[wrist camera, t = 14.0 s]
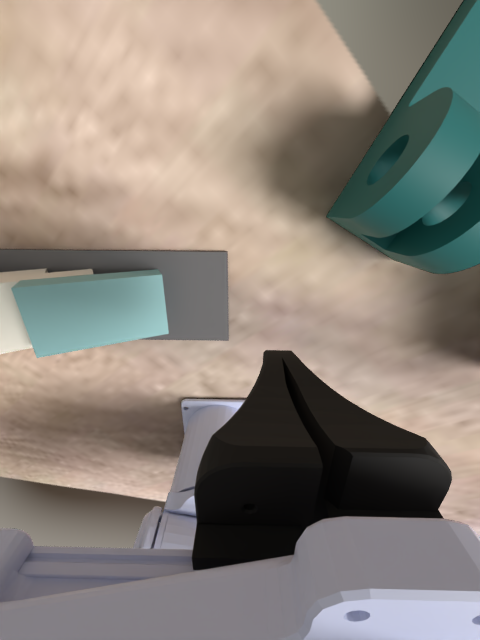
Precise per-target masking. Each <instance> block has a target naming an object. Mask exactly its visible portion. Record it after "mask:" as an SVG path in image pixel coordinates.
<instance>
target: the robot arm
mask: <svg viewBox="0 0 480 640" xmlns="http://www.w3.org/2000/svg"><path fill="white" fill-rule="evenodd" d="M186 407H188V408H186ZM181 408H182V417H183V426H184V435H185V436H184V440H183V444H182V448H181V452H180V456H179V459H178V463H177V467H176V471H175V475H174V478H173V482H172V486H171V490H170V492H169V493H168V496H167V500H166V504H165V508H164V511H163V513H162V512H161V511H162V508H161V507H158V506H155V507H154V508H153V510H152V511H150V512H149V513H147V514H146V515H145V516H144V519H143V521H142V524H141V526H140V529H139V532H138V535H137V538H136V541H135V544H134V547H133V548H102V547H58V546H33V542H32V539H31V537H30V536H29V534H27V533H26V532H25V531H23V530H20V529H15V528H0V640H480V537H479V535H478V534H477V533H476V532H475V531H474V530H473V529H472V528H471V527H470V526H469V525H467V524H464V523H462V522H458V521H453V520H447V519H444V518H443V517H442V515H441V514H440V512H439V510H438V508H439V507H440V505H441V503H442V501H443V499H444V497H445V496H446V494H447V492H448V490H449V487H450V484H451V481H452V476H451V471H450V469H449V467H448V466H447V464H446V463H445V462H444V460H443V459H442V458H441V457H440V455H439V454H438V453H437V452H436V450H435V449H434V448H433V447H432V445H431V444H430V443H429V442H428V441H427V440H426V438H424V437H421V436H419V435H417V434H414V433H412V432H409V431H407V430H404V429H402V428H400V427H397V426H395V425H393V424H391V423H389V422H387V421H384V420H382V419H380V418H378V417H376V416H374V415H373V414H371V413H369V412H367V411H365V410H363V409H362V408H360V407H358V406H357V405H355V404H353V403H352V402H350V401H349V400H347V399H345V398H344V397H343V396H341V395H340V394H338V393H337V392H335V391H334V390H333V389H331V388H330V387H329V386H328V385H326V384H325V383H324V382H323V381H322V380H320V379H319V378H318V377H317V376H316V375H315V374H314V373H313V372H312V371H310V370H309V369H308V368H307V367H306V366H305V365H304V364H303V363H302V362H301V360H300V359H299V358H298V357H297V356H296V355H295V354H294V353H293V352H292V351H277V350H266V351H265V352H264V354H263V365H262V368H261V371H260V374H259V376H258V378H257V381H256V383H255V385H254V387H253V389H252V390H251V392H250V394H249V395H248V397H247V398H246V400H226V399H184V400H182V402H181ZM159 522H160V523H159Z"/></svg>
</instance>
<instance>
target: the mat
mask: <svg viewBox="0 0 480 640" xmlns="http://www.w3.org/2000/svg"><path fill="white" fill-rule="evenodd" d="M45 268H47V271H48V273H51V272H62V271H73V270H83V269H92V270H93V274H105V273H118V272H130V271H142V270H155V269H158V270H159V271H160V273H161V274H162V279H163V287H164V296H165V305H166V313H167V322H168V331H169V334H164V335H159V336H153V337H148V338H142V339H150V340H223V341H228V340H229V333H228V254H227V251H130V250H28V249H0V272H10V271H22V270H34V269H45Z"/></svg>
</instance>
